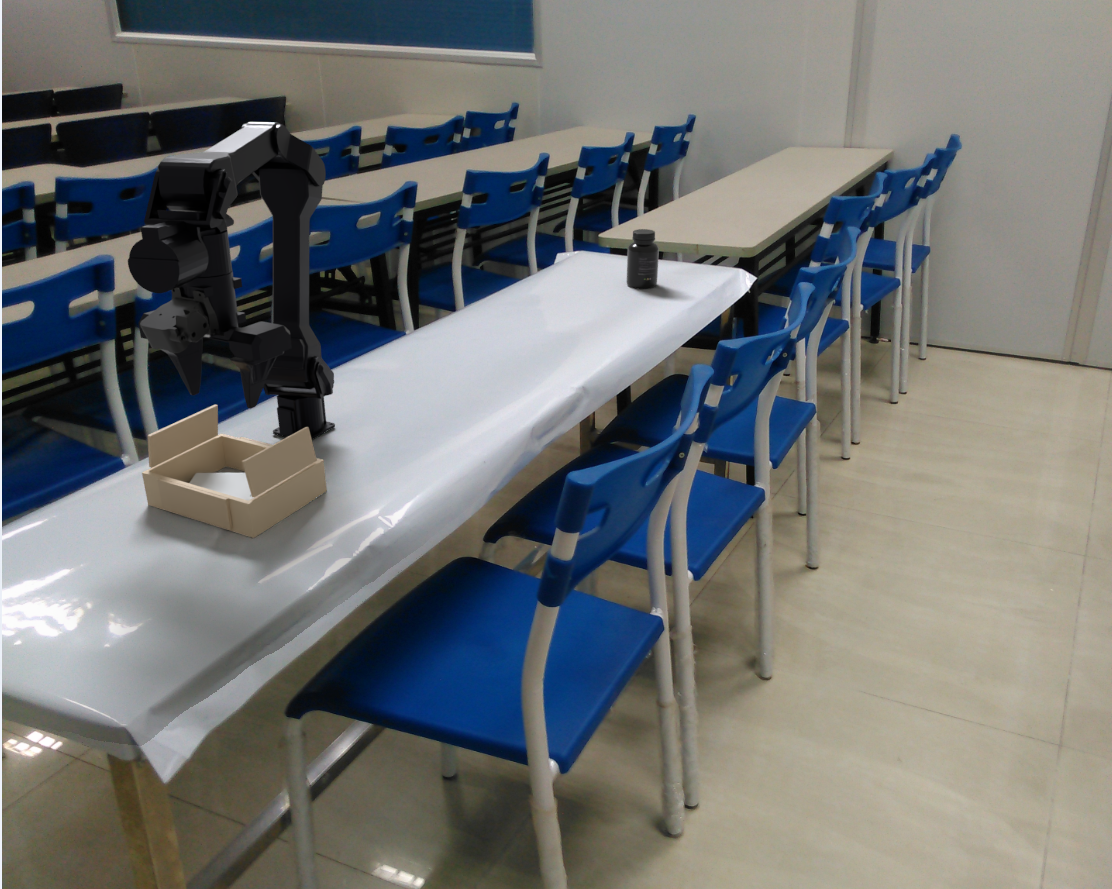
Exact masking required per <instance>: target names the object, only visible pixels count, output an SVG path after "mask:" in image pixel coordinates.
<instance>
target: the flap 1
mask: <svg viewBox="0 0 1112 889" xmlns="http://www.w3.org/2000/svg"><path fill="white" fill-rule="evenodd" d="M218 406H219V405H218V404H213V405H211V406H207V407H206V408H204V409H201V410H200V411H197V412H196V413H193V414H191V415H188V416H187V417H185V418H182V419H180V420H177V421H176V422H174V423H172V424H169V425H167V426H165V427H162V428H160V429H157V430H156V431H154V432H152V433H149V434H147V450H148V467H149V468H153V467H155V466H157V465H159V464H161V463H163V462H165V461H167V460H169V459H171V458H173V457H175V456H177V455H179V454H181V453H183V452H185V451H187V450H189V449H191V448H193V447H195V446H197V445H199V444H201V443H203V442H205V441H207V440H210V439H212V438H214V437H216V436H218V435H219V424H218V423H219V414H218V413H219V411H218V410H219V408H218Z"/></svg>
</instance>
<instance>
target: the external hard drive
mask: <svg viewBox="0 0 1112 889" xmlns="http://www.w3.org/2000/svg"><path fill="white" fill-rule="evenodd" d="M190 484H193V485H196V486H200V487H203V488H207V489H210V490H213V491H217V492H220V493H224V494H227V495H231V496H234V497H237V498H241V499H244V500H248V501H249V500H251V499H252V498H254V497H252V495H251V492H250V488H249V485H248V481H247V478H246V474H245V472H215V473H196V474H195V475H194V477H193V478H192V479H191V481H190Z"/></svg>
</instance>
